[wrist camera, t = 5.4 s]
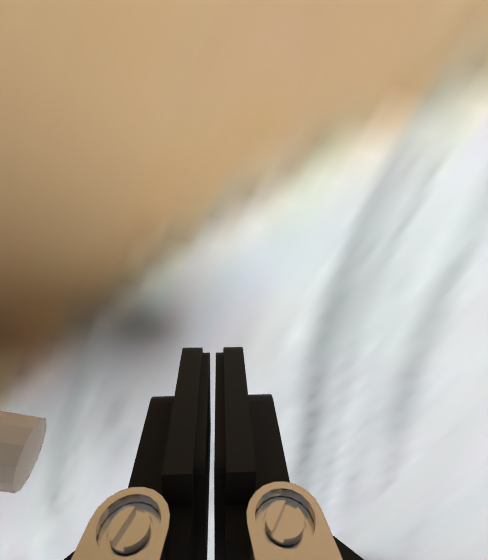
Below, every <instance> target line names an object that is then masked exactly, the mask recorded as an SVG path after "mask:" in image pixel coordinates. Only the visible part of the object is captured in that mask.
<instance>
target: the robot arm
mask: <svg viewBox="0 0 488 560" xmlns="http://www.w3.org/2000/svg"><path fill="white" fill-rule="evenodd" d="M210 436H211V417H210V353H203V349H202V348H183V349H182V355H181V361H180V367H179V373H178V378H177V384H176V390H175V396H165V397H152V398H151V401H150V404H149V408H148V412H147V416H146V420H145V424H144V428H143V432H142V435H141V439H140V443H139V447H138V451H137V455H136V459H135V463H134V467H133V471H132V475H131V478H130V482H129V486H128V489H125V490H121V491H119V492H117V493H115V494H114V495H112V496H110V497H109V498H107V499H106V500H105V501H104V502H103V503H102V504H101V505H100V506H99V507H98V508H97V510H96V511H95V513H94V514H93V516H92V518H91V519H90V521H89V523H88V525H87V527H86V529H85V532H84V534H83V536H82V538H81V540H80V542H79V544H78V546H77V548H76V550H75V551H74V552H73V553H71V554H70V555H69V556H68V557H67V558H65V559H64V560H207V543H208V508H209V472H210ZM214 519H215V560H364V559H362V558H361V557H360V556H358V555H357V554H356V553H355V552H353V551H352V550H351V549H349V548H348V547H347V546H346V545H344V544H343V543H342V542H341V541H339V540H338V539H337V538H335V537H334V536H333V535H332V533H331V531H330V528H329V526H328V524H327V521H326V519H325V517H324V514H323V512H322V509H321V508H320V506H319V504H318V503H317V501H316V499H315V498H314V497H313V496H312V495H311V494H310V493H309V492H308V491H307V490H305V489H304V488H302V487H300V486H298V485H296V484H293V483H290V481H289V476H288V471H287V466H286V461H285V456H284V451H283V446H282V441H281V436H280V431H279V427H278V422H277V417H276V412H275V407H274V402H273V398H272V395H271V394H262V395H248V391H247V382H246V373H245V364H244V354H243V347H224V350H223V353H216V388H215V460H214Z"/></svg>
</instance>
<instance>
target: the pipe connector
mask: <svg viewBox="0 0 488 560" xmlns="http://www.w3.org/2000/svg"><path fill="white" fill-rule="evenodd" d="M45 431H46V419H45V418H38V417H32V416H26V415H20V414H14V413H8V412H1V411H0V491H3V492H11V493H15V492H17V491H19V490H21V488H22V487H23V485H24V484H25V482H26V481H27V479H28V478H29V476H30V473H31V471H32V469H33V467H34V465H35V463H36V461H37V458H38V455H39V452H40V450H41V447H42V444H43V440H44V435H45Z"/></svg>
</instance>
